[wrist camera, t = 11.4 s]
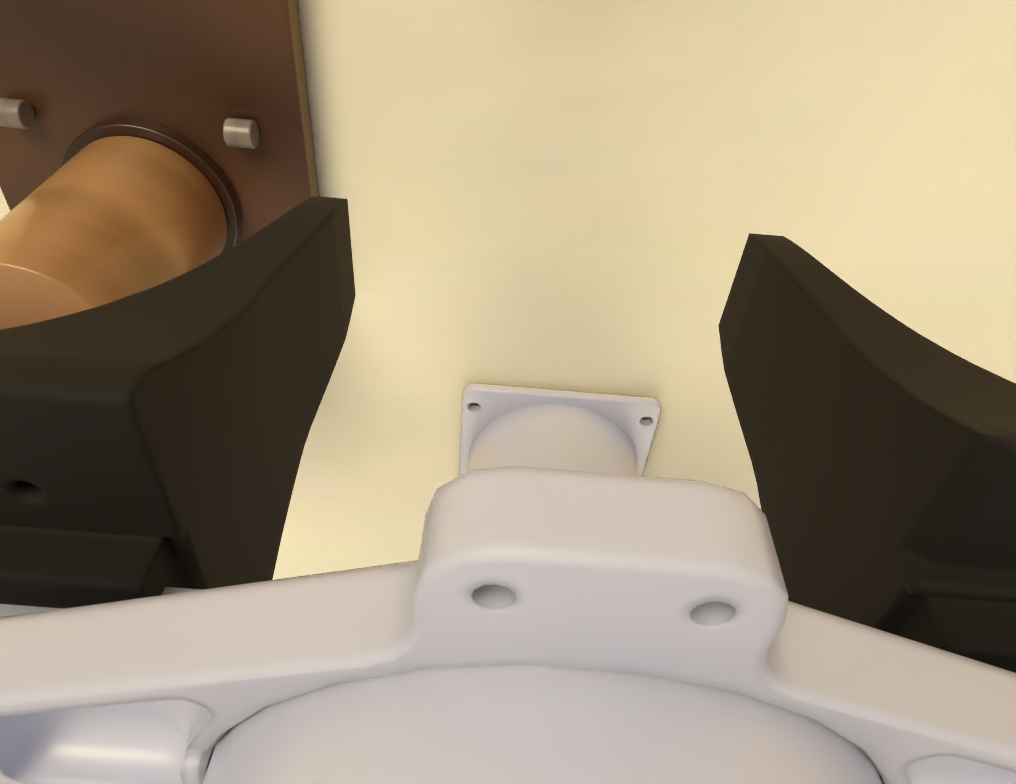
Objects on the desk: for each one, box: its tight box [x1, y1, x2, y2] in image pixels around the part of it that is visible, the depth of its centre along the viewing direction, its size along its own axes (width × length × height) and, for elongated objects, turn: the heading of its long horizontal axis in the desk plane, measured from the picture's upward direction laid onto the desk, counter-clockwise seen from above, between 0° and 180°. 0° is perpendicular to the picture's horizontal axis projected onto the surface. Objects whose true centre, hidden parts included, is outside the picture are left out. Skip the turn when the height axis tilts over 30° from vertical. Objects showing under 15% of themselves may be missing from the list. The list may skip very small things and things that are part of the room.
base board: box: [0, 0, 319, 244], centre depth 21 cm, size 16×10×2 cm, turn 176°
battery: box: [0, 119, 242, 330], centre depth 20 cm, size 5×5×8 cm
